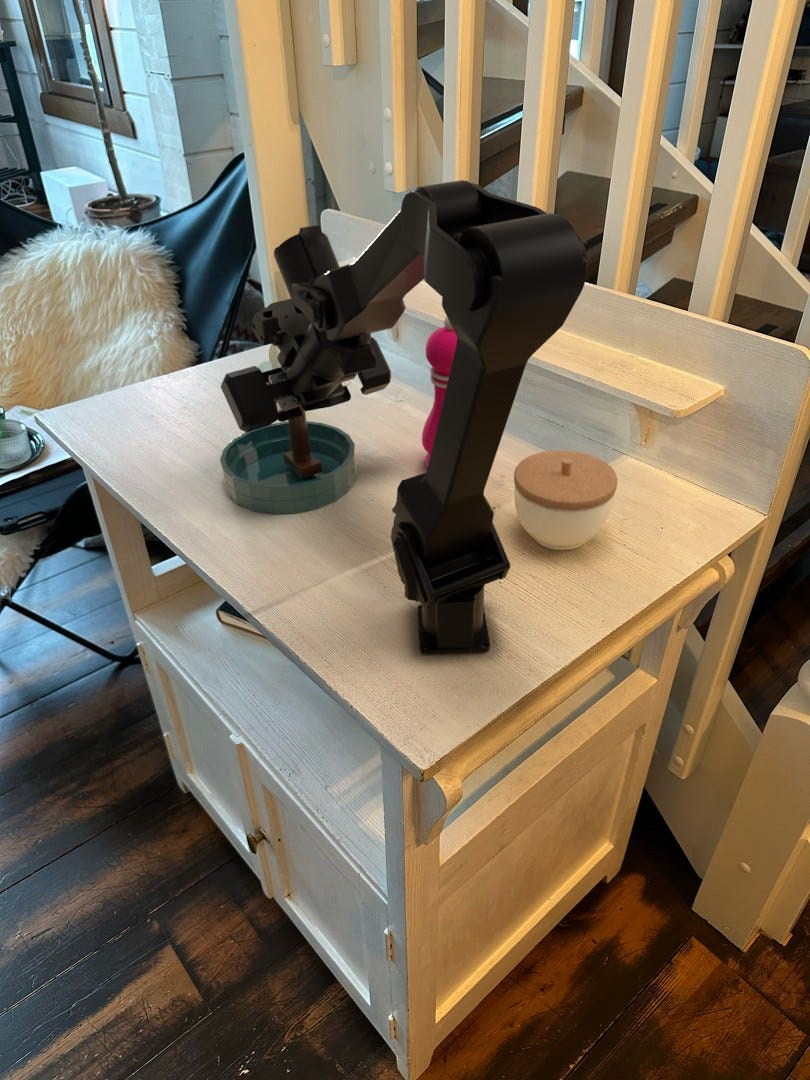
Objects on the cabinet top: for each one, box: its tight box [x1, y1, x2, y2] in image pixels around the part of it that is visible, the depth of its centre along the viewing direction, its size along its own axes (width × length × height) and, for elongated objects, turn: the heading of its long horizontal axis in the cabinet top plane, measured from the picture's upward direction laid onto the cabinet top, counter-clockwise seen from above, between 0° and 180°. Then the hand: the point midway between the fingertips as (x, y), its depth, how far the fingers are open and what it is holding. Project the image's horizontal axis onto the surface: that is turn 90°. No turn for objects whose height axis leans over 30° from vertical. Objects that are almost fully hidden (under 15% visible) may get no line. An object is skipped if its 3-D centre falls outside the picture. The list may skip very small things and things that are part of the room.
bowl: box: [219, 420, 358, 515], centre depth 94 cm, size 16×16×4 cm
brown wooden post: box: [281, 367, 322, 479], centre depth 90 cm, size 5×3×14 cm, turn 34°
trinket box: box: [513, 449, 618, 551], centre depth 82 cm, size 11×11×9 cm
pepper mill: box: [421, 315, 457, 468], centre depth 91 cm, size 7×7×20 cm
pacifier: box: [257, 344, 281, 372], centre depth 117 cm, size 7×6×6 cm
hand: (291, 410), depth 91 cm, fingers closed on brown wooden post, 2 cm apart
